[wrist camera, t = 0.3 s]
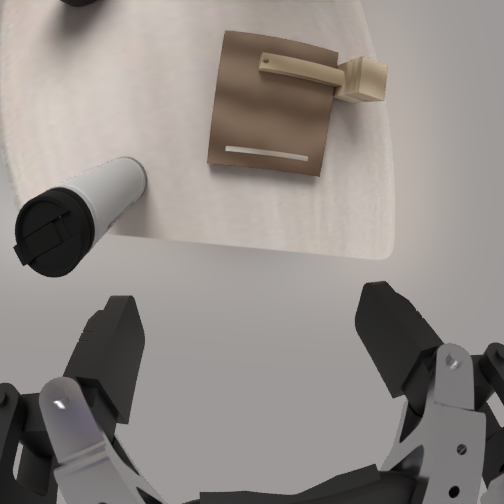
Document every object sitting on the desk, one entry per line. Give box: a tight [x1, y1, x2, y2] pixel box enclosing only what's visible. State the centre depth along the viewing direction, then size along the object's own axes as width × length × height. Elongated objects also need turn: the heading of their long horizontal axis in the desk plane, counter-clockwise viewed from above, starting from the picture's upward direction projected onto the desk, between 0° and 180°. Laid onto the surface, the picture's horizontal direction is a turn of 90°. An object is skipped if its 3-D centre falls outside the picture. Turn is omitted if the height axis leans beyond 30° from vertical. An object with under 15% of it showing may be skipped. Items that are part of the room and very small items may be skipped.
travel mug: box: [13, 157, 147, 277], centre depth 24 cm, size 6×7×20 cm
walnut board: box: [207, 31, 338, 177], centre depth 29 cm, size 17×14×2 cm
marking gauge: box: [259, 52, 388, 103], centre depth 25 cm, size 4×13×8 cm, turn 83°
